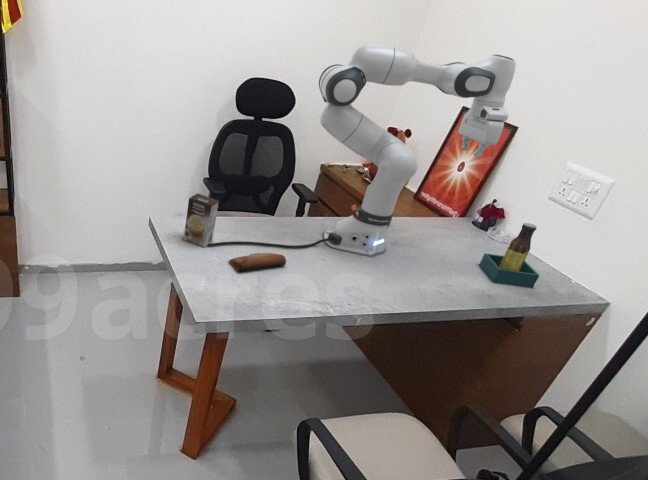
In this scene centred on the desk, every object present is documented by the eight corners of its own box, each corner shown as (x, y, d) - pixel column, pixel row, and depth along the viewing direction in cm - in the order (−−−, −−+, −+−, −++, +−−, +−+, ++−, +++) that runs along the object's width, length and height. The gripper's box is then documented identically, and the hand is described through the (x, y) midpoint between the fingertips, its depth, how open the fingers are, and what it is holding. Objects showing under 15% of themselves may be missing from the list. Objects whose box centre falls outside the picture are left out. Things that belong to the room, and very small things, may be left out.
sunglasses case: (271, 254, 181) (280, 244, 176) (279, 271, 179) (288, 261, 173) (227, 260, 175) (235, 249, 169) (234, 278, 172) (242, 268, 166)
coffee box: (182, 239, 186) (187, 197, 177) (191, 234, 191) (196, 192, 182) (204, 247, 182) (211, 205, 173) (213, 241, 187) (219, 200, 178)
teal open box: (492, 282, 181) (499, 269, 178) (478, 265, 191) (484, 253, 188) (532, 287, 180) (539, 275, 177) (516, 270, 190) (522, 258, 188)
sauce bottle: (517, 282, 182) (545, 231, 172) (499, 278, 183) (525, 227, 172) (510, 273, 188) (537, 223, 177) (492, 270, 189) (517, 220, 178)
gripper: (461, 105, 177) (448, 146, 183) (491, 114, 159) (475, 159, 165) (480, 106, 176) (466, 147, 183) (511, 116, 158) (495, 161, 165)
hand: (470, 153), depth 174 cm, fingers open, 8 cm apart
